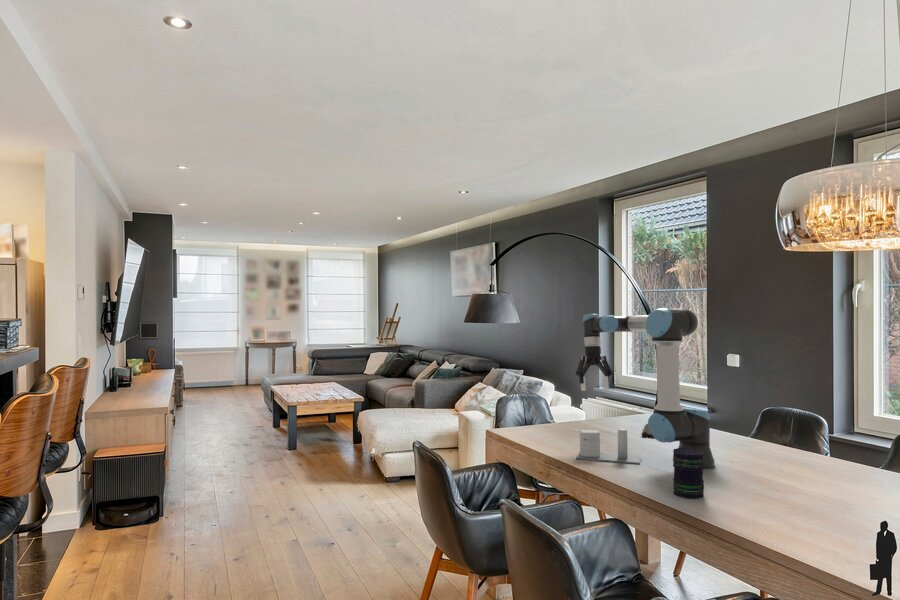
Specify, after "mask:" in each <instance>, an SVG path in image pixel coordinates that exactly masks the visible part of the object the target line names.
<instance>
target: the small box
mask: <svg viewBox="0 0 900 600" xmlns="http://www.w3.org/2000/svg"><path fill="white" fill-rule="evenodd" d="M579 451H580V454H581V456H582V457H600V453H601V433H600V431H599V430H598V429H595V430H593V429H579Z"/></svg>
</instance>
